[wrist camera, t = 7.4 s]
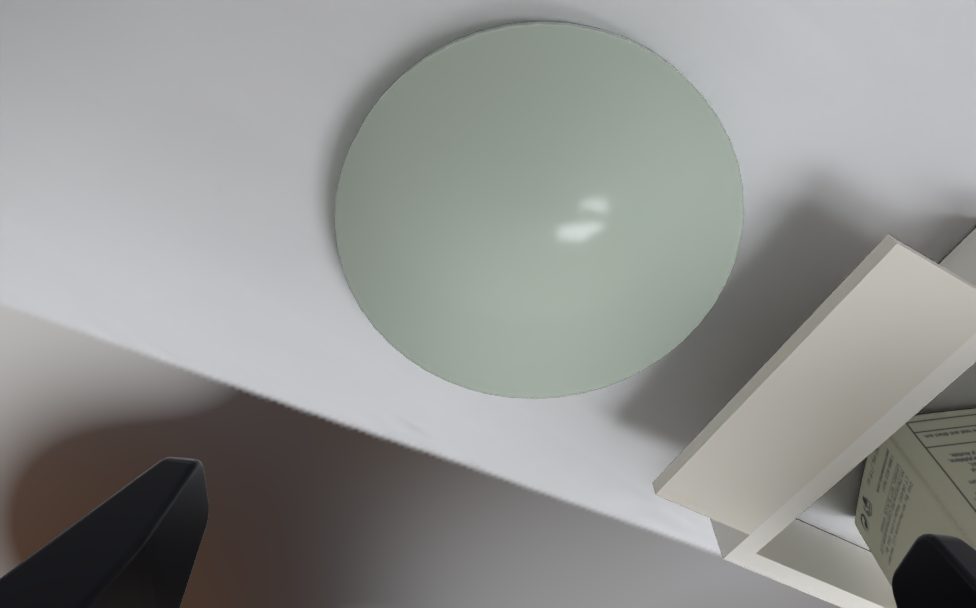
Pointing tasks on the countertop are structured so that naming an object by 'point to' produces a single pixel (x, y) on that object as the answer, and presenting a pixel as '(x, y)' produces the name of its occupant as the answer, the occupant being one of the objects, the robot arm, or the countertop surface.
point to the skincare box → (919, 486)
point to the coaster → (538, 210)
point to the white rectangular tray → (829, 418)
